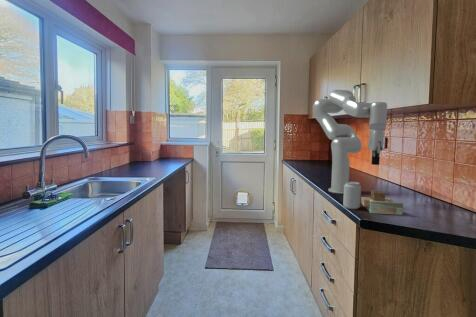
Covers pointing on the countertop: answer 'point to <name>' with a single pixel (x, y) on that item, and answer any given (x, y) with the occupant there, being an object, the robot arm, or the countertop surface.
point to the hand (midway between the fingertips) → (375, 164)
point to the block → (377, 195)
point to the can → (352, 195)
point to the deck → (382, 206)
